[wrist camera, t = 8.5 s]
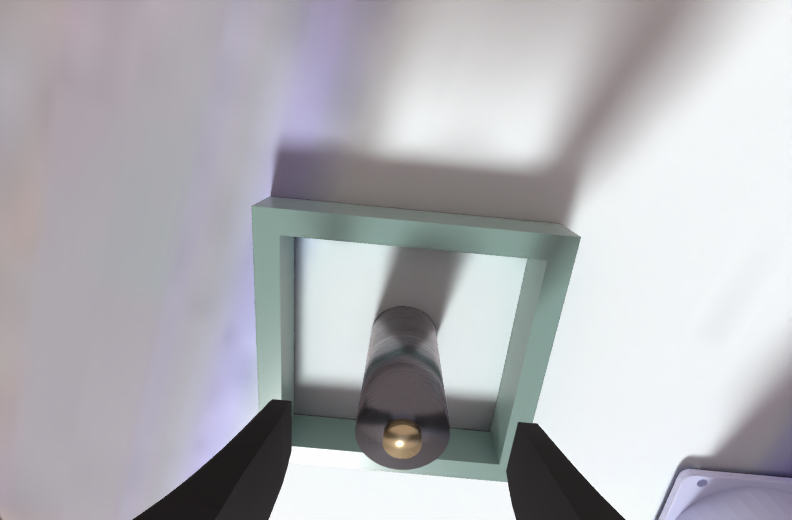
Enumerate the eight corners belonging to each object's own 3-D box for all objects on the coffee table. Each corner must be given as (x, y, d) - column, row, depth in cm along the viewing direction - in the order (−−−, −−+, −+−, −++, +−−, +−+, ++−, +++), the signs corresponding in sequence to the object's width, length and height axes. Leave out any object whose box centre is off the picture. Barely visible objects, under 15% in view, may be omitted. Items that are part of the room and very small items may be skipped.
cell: (440, 310, 17) (459, 409, 11) (430, 366, 18) (443, 485, 12) (374, 302, 17) (357, 398, 11) (368, 359, 18) (349, 475, 12)
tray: (559, 223, 16) (581, 236, 14) (506, 448, 20) (516, 482, 18) (270, 196, 16) (251, 206, 14) (274, 428, 20) (260, 460, 18)
